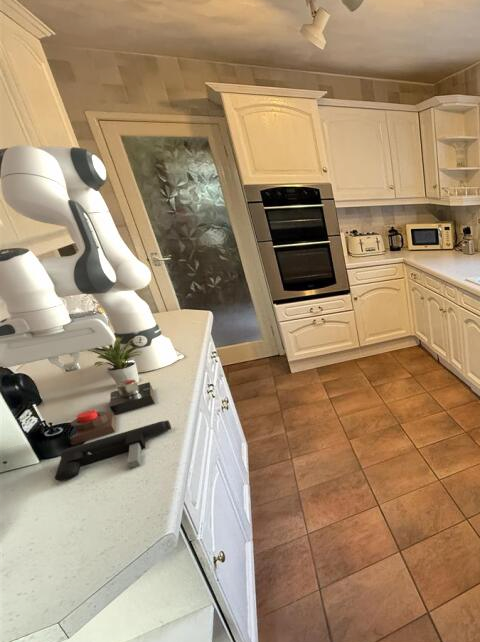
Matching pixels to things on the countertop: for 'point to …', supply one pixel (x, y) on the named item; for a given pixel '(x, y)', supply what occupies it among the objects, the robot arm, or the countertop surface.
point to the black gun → (108, 449)
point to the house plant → (120, 362)
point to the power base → (94, 427)
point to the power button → (87, 416)
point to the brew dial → (127, 388)
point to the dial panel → (132, 400)
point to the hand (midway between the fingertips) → (72, 370)
